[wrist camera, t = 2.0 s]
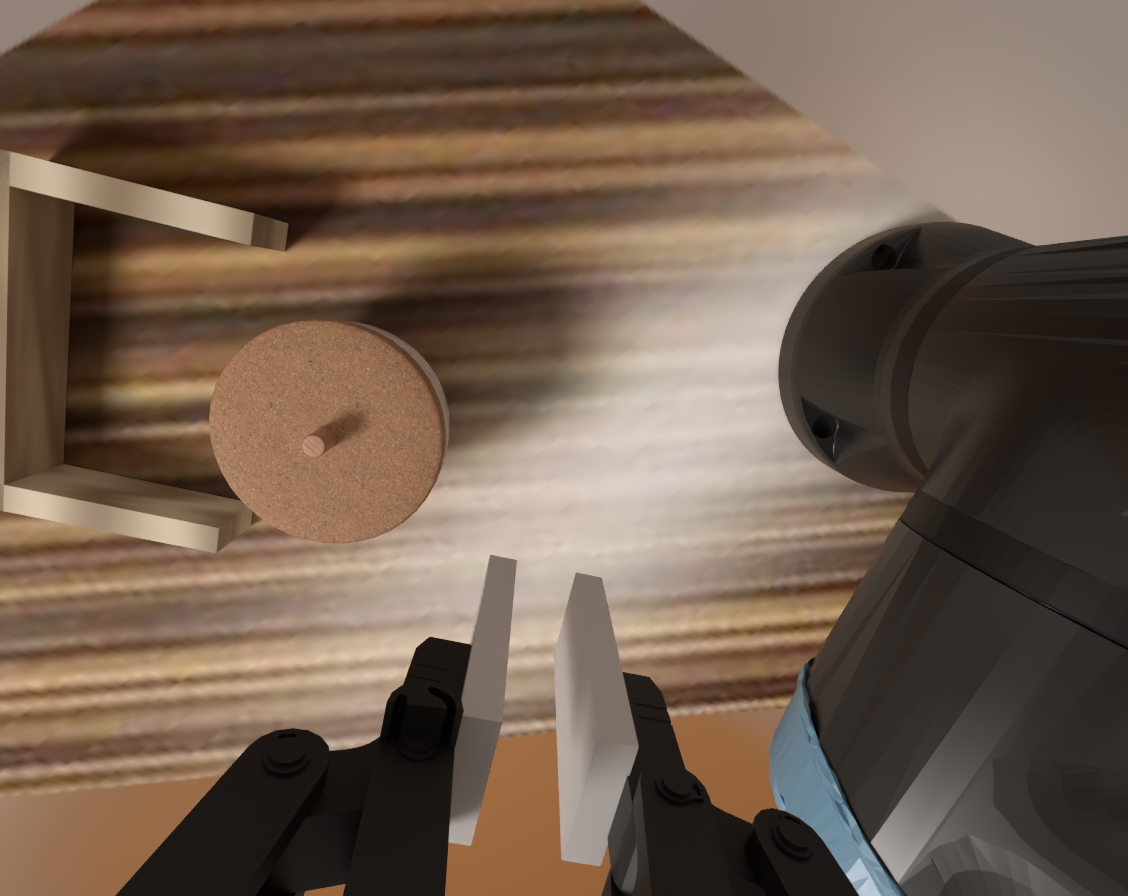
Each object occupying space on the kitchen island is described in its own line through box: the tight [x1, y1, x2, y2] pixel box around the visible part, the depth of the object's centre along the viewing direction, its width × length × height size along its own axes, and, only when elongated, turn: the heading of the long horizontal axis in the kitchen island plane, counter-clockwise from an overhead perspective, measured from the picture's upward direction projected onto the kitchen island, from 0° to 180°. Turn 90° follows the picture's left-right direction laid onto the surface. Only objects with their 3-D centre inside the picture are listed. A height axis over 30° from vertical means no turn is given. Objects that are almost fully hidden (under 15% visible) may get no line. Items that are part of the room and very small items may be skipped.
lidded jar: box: [209, 318, 450, 543], centre depth 30 cm, size 11×11×9 cm
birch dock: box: [0, 149, 289, 553], centre depth 32 cm, size 12×18×4 cm
